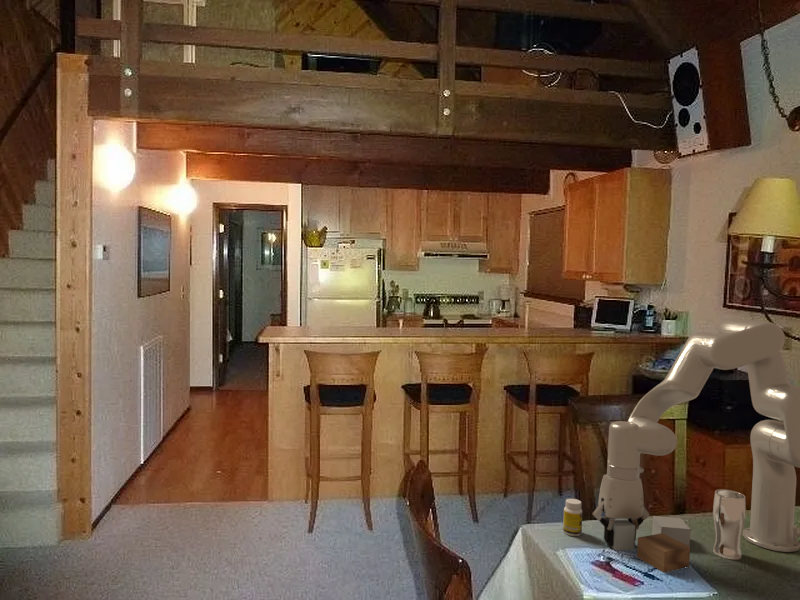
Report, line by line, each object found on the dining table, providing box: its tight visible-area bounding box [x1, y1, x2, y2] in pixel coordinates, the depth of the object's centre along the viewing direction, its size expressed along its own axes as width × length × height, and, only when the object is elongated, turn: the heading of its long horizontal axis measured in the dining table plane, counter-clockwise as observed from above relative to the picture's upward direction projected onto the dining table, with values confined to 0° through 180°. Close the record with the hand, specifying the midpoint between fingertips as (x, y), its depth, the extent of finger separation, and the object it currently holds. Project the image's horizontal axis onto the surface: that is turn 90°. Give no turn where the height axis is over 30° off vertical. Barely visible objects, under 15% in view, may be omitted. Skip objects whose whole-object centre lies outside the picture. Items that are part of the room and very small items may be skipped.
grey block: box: [651, 515, 692, 548], centre depth 150 cm, size 7×7×5 cm
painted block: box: [610, 519, 636, 551], centre depth 146 cm, size 5×5×6 cm
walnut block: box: [636, 533, 691, 574], centre depth 137 cm, size 8×8×5 cm
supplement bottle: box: [562, 498, 583, 537], centre depth 152 cm, size 5×5×8 cm
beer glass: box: [712, 489, 747, 561], centre depth 143 cm, size 7×7×15 cm
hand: (619, 542), depth 146 cm, fingers closed on painted block, 5 cm apart
